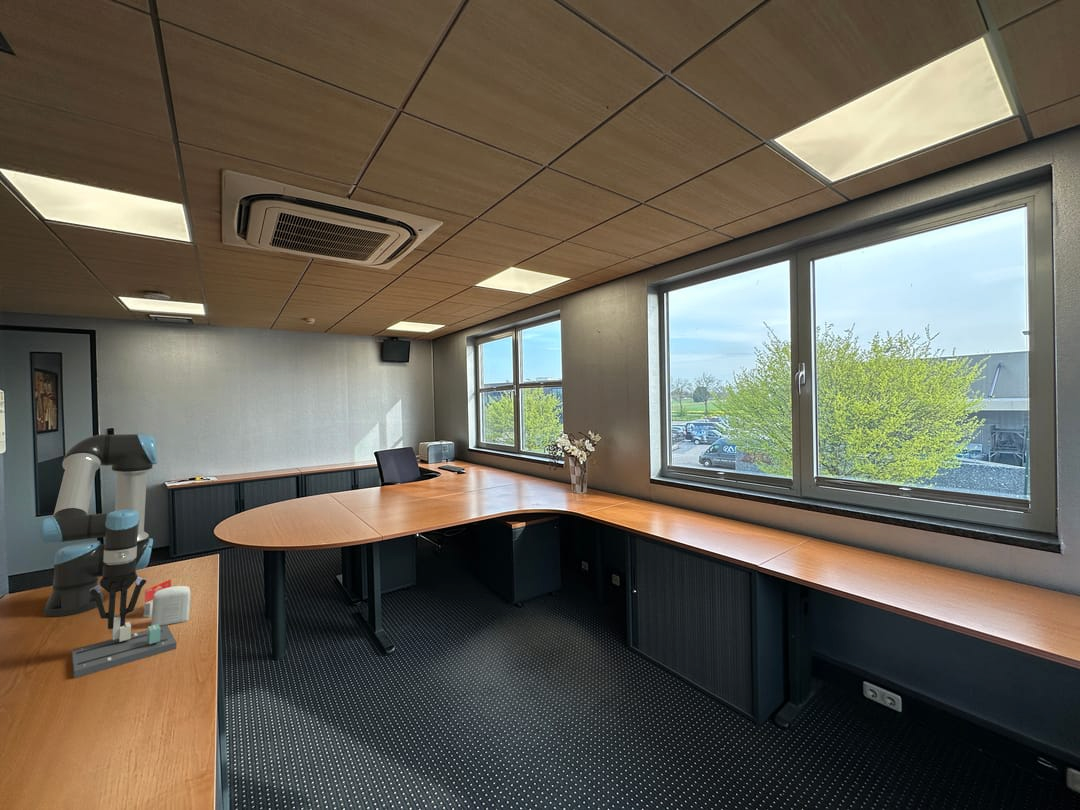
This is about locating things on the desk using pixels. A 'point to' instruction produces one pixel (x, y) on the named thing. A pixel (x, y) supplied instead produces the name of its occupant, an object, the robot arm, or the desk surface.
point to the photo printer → (171, 605)
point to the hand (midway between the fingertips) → (115, 637)
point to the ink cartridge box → (149, 597)
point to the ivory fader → (125, 632)
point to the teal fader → (153, 633)
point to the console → (119, 652)
